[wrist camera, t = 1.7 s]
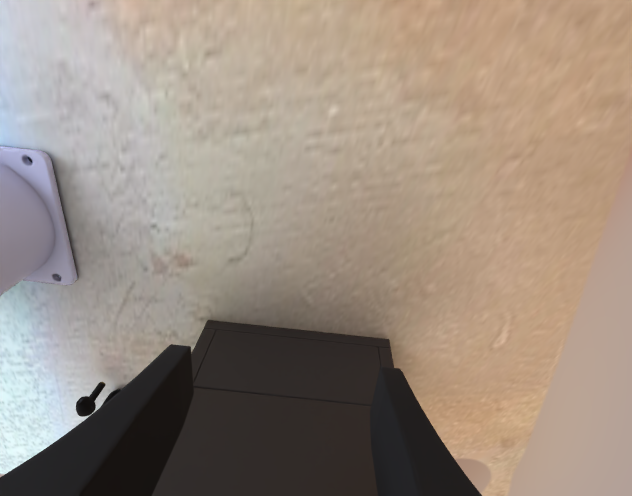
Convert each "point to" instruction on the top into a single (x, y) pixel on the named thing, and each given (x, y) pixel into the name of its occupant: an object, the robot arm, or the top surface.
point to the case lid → (270, 448)
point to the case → (289, 363)
